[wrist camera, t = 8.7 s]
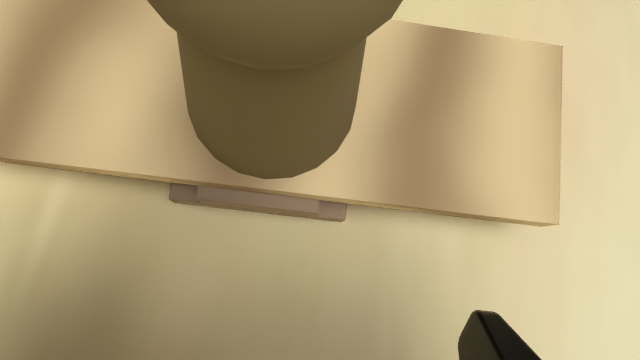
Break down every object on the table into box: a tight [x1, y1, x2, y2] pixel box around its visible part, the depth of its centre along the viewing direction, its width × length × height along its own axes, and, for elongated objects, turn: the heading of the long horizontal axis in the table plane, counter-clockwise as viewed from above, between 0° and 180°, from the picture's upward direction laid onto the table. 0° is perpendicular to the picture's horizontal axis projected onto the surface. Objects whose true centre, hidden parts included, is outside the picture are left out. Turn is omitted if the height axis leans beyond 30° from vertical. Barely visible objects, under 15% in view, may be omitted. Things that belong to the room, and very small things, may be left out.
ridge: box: [169, 182, 347, 222], centre depth 19 cm, size 8×7×2 cm
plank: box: [0, 0, 563, 226], centre depth 17 cm, size 22×7×1 cm, turn 84°
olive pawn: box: [147, 0, 402, 179], centre depth 11 cm, size 6×6×11 cm
